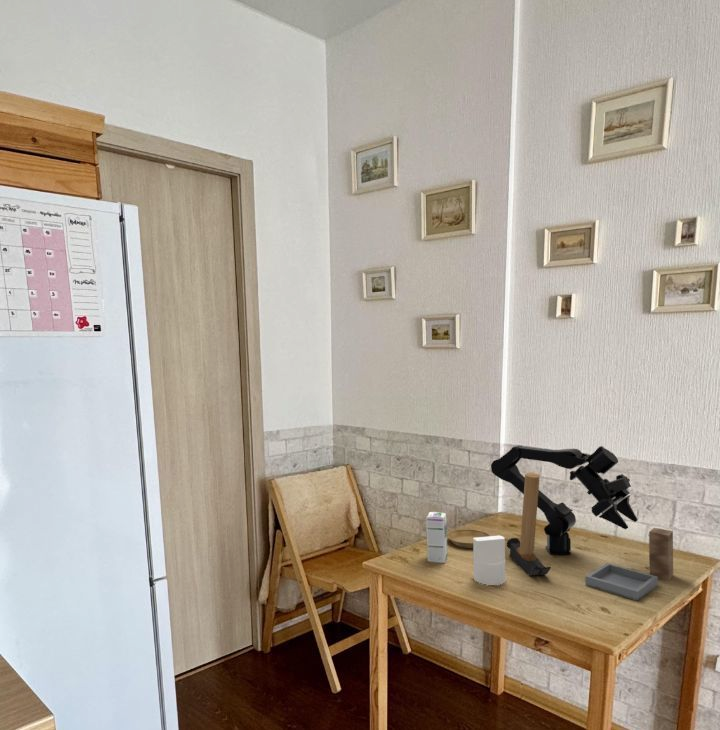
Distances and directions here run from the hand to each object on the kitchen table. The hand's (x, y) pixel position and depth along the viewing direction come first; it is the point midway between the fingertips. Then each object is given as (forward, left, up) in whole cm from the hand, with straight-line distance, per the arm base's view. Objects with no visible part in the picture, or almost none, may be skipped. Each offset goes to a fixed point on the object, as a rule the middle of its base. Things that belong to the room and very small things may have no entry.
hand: (631, 524), depth 163 cm
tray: (-8, -12, -13) cm, 20 cm away
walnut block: (+6, -5, -13) cm, 16 cm away
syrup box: (-58, +6, -14) cm, 60 cm away
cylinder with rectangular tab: (-44, -9, -14) cm, 47 cm away
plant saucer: (-46, +22, -14) cm, 53 cm away
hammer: (-31, +1, -14) cm, 34 cm away
